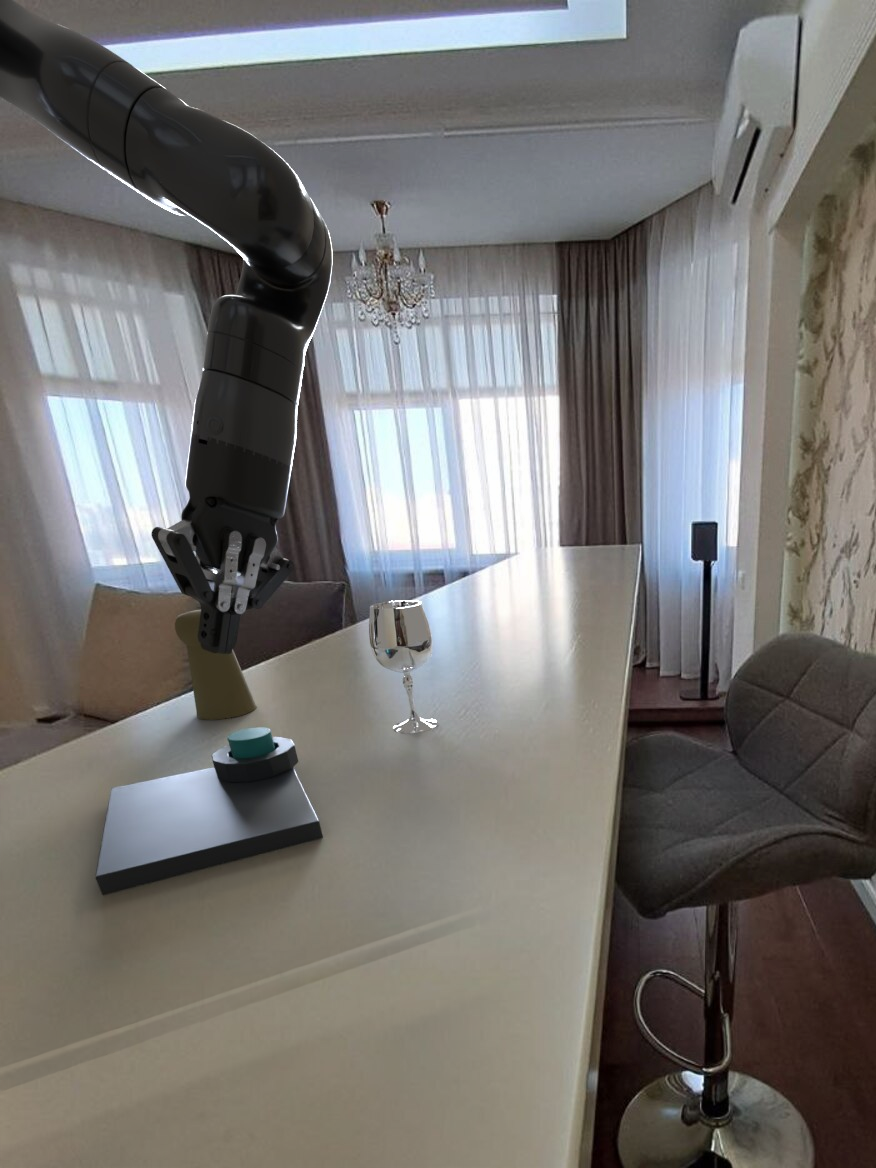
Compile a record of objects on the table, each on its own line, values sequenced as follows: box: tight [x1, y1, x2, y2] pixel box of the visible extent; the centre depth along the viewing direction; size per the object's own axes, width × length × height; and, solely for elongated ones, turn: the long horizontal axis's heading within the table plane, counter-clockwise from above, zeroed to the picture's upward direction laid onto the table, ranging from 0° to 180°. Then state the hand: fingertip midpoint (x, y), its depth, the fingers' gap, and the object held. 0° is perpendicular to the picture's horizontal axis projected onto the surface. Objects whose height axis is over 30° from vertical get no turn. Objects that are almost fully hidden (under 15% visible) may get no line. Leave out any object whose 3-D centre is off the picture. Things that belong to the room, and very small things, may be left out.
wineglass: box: [368, 600, 439, 734], centre depth 66 cm, size 6×6×12 cm
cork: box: [174, 609, 257, 721], centre depth 74 cm, size 6×6×11 cm
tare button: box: [227, 726, 275, 759], centre depth 55 cm, size 3×3×2 cm
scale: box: [94, 736, 324, 896], centre depth 51 cm, size 16×14×3 cm
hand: (215, 651), depth 61 cm, fingers closed
